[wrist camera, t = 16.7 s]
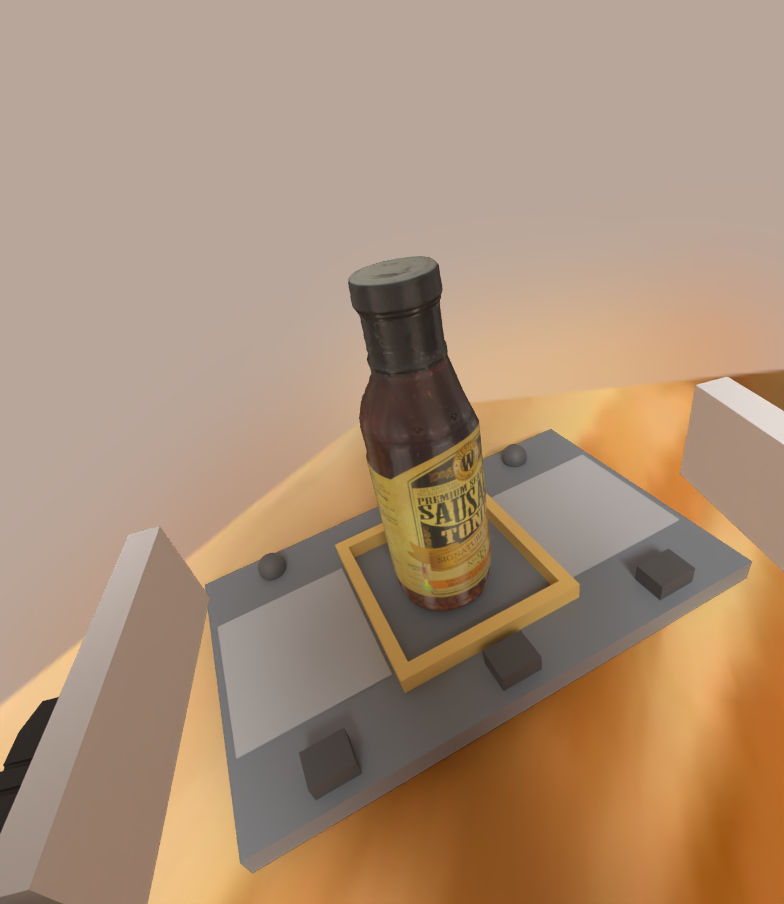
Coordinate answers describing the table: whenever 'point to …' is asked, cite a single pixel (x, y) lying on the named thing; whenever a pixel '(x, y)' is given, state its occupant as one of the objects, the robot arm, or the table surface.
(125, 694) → the robot arm
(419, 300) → the sauce bottle
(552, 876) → the table surface
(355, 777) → the grey fixture plate
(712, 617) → the table surface
